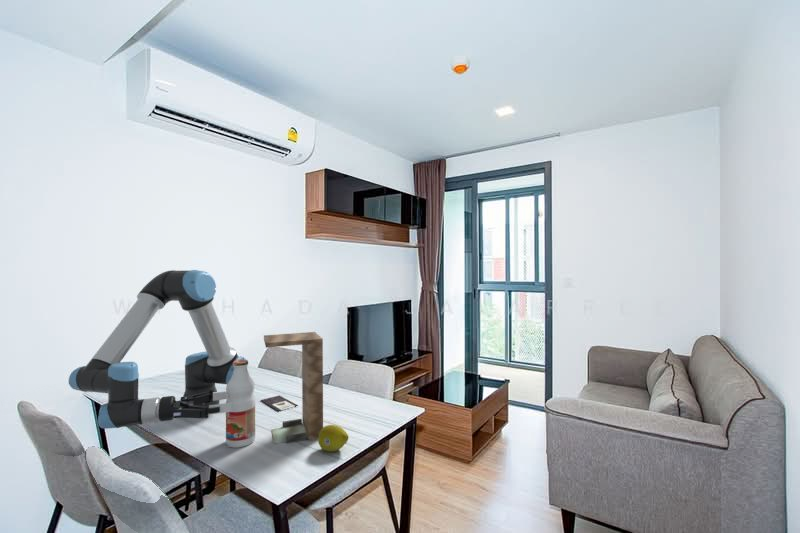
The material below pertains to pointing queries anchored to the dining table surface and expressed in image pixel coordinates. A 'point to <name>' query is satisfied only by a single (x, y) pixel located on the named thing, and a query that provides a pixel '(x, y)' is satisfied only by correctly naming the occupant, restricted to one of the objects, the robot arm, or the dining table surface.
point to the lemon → (332, 438)
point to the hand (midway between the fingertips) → (232, 400)
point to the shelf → (303, 387)
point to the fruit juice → (240, 407)
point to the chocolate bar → (279, 403)
